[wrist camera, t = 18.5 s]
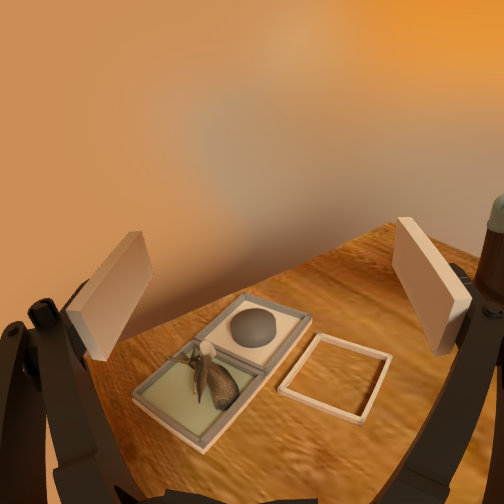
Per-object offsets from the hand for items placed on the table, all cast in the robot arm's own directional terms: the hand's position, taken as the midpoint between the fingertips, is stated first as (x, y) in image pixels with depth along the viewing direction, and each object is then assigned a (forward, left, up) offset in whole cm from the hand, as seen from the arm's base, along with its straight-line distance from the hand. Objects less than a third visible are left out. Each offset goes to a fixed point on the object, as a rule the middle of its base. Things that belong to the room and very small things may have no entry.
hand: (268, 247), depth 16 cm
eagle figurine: (-4, -14, -27) cm, 31 cm away
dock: (-10, -15, -28) cm, 33 cm away
